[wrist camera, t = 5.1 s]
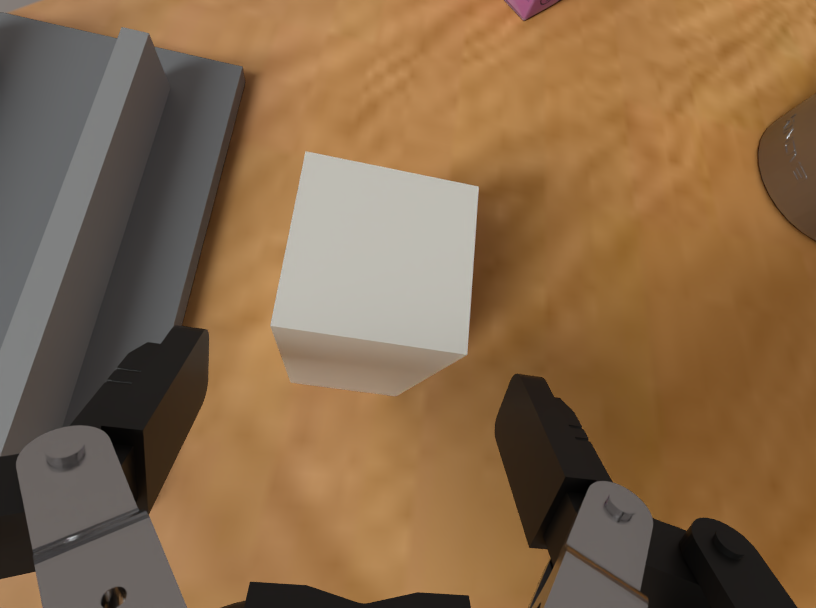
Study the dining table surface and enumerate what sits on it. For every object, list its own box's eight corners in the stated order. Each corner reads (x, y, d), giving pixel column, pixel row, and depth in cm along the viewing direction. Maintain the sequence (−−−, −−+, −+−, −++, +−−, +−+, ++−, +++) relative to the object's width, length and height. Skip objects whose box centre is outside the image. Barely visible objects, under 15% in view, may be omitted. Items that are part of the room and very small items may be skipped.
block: (407, 298, 22) (478, 186, 12) (396, 396, 20) (467, 354, 11) (308, 282, 21) (305, 151, 12) (290, 382, 20) (270, 325, 10)
